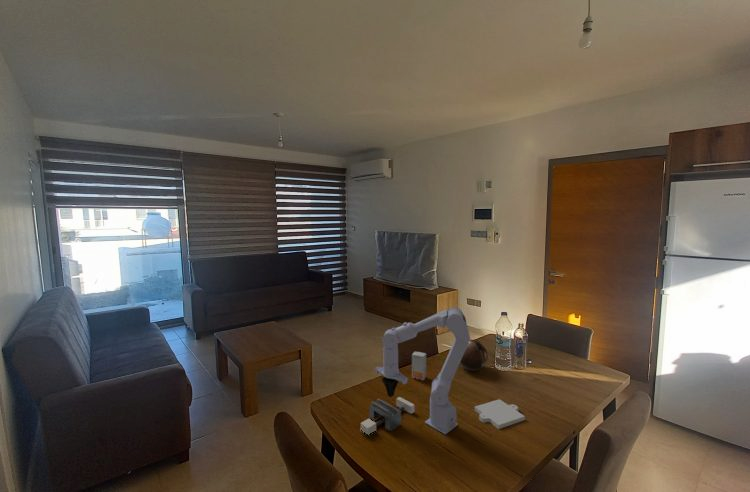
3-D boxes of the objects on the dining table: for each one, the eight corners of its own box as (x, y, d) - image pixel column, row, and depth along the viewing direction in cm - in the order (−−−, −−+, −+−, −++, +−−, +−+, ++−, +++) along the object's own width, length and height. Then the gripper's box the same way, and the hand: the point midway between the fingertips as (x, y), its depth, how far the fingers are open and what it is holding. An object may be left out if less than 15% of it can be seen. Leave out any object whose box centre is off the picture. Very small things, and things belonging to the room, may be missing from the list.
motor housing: (401, 424, 124) (400, 408, 123) (389, 431, 120) (389, 415, 119) (380, 412, 132) (380, 397, 131) (369, 418, 128) (369, 403, 127)
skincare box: (411, 378, 159) (411, 354, 158) (414, 374, 163) (414, 351, 162) (423, 381, 157) (423, 356, 155) (426, 377, 160) (426, 353, 159)
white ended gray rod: (414, 411, 132) (414, 404, 131) (369, 440, 115) (369, 432, 115) (399, 403, 137) (399, 396, 137) (354, 429, 121) (354, 422, 121)
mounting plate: (493, 431, 120) (493, 426, 120) (469, 412, 132) (469, 408, 131) (529, 419, 127) (529, 414, 127) (504, 402, 139) (504, 397, 139)
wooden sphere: (451, 365, 173) (451, 337, 172) (475, 360, 177) (476, 333, 176) (467, 378, 159) (467, 348, 157) (493, 373, 163) (494, 343, 162)
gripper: (412, 363, 124) (412, 398, 126) (383, 353, 134) (383, 385, 135) (400, 370, 119) (401, 406, 120) (371, 358, 129) (371, 392, 130)
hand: (390, 395), depth 128 cm, fingers closed
